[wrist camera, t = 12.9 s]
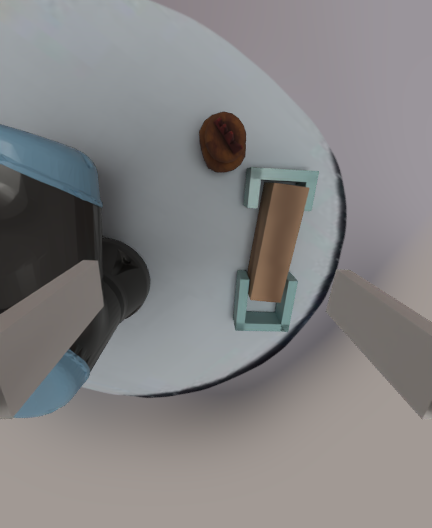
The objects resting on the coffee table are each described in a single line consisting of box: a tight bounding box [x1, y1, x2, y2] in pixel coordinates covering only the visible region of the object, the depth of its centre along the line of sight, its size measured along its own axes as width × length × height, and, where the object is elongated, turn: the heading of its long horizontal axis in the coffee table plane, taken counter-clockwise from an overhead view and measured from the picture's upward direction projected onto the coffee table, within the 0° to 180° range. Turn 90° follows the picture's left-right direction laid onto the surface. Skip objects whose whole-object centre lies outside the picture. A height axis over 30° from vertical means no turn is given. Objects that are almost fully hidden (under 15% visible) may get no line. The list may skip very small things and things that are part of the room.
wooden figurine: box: [199, 112, 246, 172], centre depth 27 cm, size 7×6×15 cm
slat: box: [247, 182, 310, 303], centre depth 37 cm, size 5×18×6 cm, turn 173°
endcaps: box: [233, 167, 319, 332], centre depth 39 cm, size 10×27×4 cm, turn 177°
